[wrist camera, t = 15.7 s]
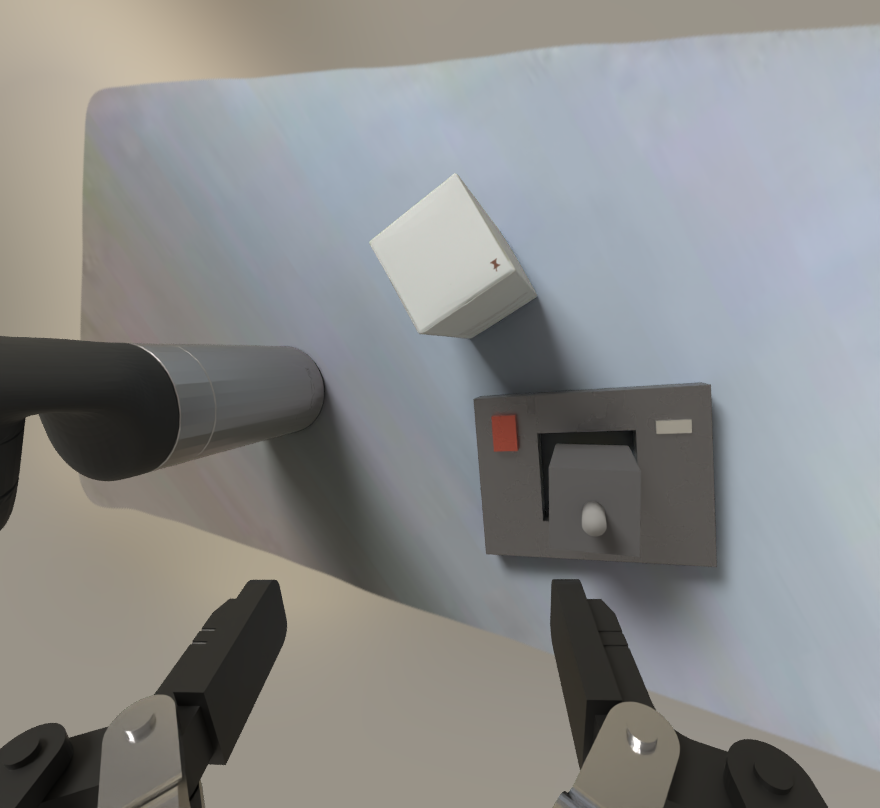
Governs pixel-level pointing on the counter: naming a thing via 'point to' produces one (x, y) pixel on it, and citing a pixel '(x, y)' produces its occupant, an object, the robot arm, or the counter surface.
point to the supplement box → (452, 264)
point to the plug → (594, 499)
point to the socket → (655, 450)
